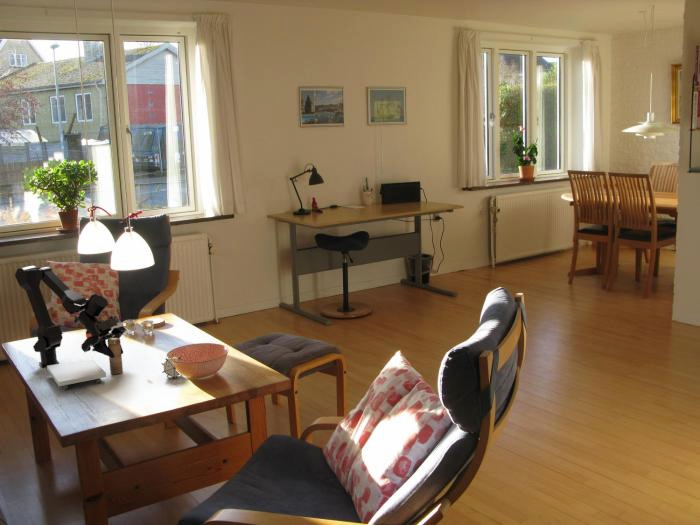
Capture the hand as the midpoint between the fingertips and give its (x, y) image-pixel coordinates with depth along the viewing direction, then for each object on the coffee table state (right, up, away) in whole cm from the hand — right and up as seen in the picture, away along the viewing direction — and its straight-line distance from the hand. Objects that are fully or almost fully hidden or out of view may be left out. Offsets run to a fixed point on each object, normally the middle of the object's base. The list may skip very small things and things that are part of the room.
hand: (118, 355), depth 263 cm
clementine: (-25, 0, +45) cm, 52 cm away
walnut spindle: (-1, -6, +2) cm, 7 cm away
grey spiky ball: (+22, -8, -5) cm, 24 cm away
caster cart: (-13, -8, -5) cm, 16 cm away
